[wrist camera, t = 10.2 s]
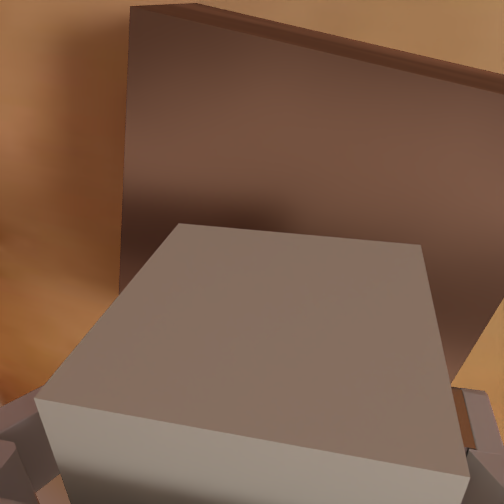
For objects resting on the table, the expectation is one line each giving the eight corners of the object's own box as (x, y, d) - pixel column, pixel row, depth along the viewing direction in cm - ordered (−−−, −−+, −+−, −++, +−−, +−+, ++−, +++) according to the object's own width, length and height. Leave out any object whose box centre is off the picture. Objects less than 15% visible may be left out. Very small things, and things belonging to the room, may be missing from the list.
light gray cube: (178, 223, 12) (33, 397, 7) (420, 244, 11) (469, 477, 5) (195, 389, 15) (104, 598, 10) (386, 420, 13) (397, 678, 8)
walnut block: (198, 3, 18) (130, 6, 13) (536, 81, 16) (612, 120, 11) (168, 271, 24) (116, 345, 19) (406, 341, 23) (417, 438, 18)
